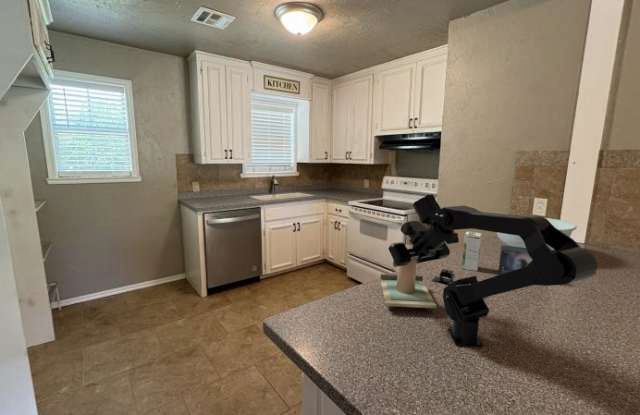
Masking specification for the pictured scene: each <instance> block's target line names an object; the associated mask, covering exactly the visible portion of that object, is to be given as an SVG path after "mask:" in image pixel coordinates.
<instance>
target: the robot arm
mask: <svg viewBox="0 0 640 415" xmlns="http://www.w3.org/2000/svg"><path fill="white" fill-rule="evenodd" d="M412 208H413V209H414V212H415V213H416V215H417V217H418V219H419V220H420V221H418V220H411V221H410V220H409V221H407V222H404V223H403V224H402V225H401V227H400V232H401V233H402V234H403V235H404V236H407V237H409V239H408V241H409V243H410V245H413V246H412V247H413V248H412V249H407V248H406V246H405V245H406V244H405V243H404V242H402V241H401V242H393V243H391V244H389V246H388V251H389V254H390V256H391V258H392V260H393V261H392V266H393V267H394V268H397V267H398V266H404V265H408V263H410V262H411V258H412V257H417V260H416V263H418V264H419V263H425V262H431V261H432V262H433V261H436V260H441V259H446V258H447V257H449V256H450V252H451V250H450V248H449V246H448V245H452V244H458V243H459V240H460V239H459V233H458V232H456V231H458V230H479V231H483V232H484V231H485V232H491V233H492V232H493V233H496V232H498V233H504V234H511V235H517V236H520V237H521V238H522V240H523V241H524V243H525V246H526V249H527V252H528V254H529V256H530V257H531V258H532V261H531V262H529V263H528V264H527V265H526V266H525V267H523V268H519V269H516V270H513V271H510V272H507V273H504V274H501V275H500V274H498V275H494V276H492V277H488V278H486V279H485V278H484V279H482V280H480V281H479V280H478V279H477V275H473V276H469V277H464V278H459V279H457V280H454V282H450V283H446V284H447V285H445V286H444V288H443V289H442V291H443V293H442V299H443V304H444V305H443V306H444V310H445V314H446V315H447V316H448V317H449V318H450V320H452V328H450V327H449V328H447V330H446V331H447V332H448V335H449V336H450V338H451V340H452V342H453V343H454V345H455V346H464V347H480V348H481V347H484V343H483V342H482V340H481V338H480V337H479V327H480V318H484V317H487V316H488V315H489V313H490V308H489V307H488V305H487V303H486V302H485V300H486V299H488V298H489V297H491V296H492V297H493V296H495V295H500V294H505V293H508V292H512V291H516V290H519V289H523V288H526V287H527V288H528V287H531V286H544V287H547V286H565V285H569V284H572V283H576V282H578V281H579V282H580V281H583V280H587V279H590V278H592V277H594V276H595V275H596V274H597V270H598V262H597V259H596V258H595V256H594V255H593V254H592V252H590V251H589V250H588V249H585V248H583V247H581V245H580V244H578V243H577V242H576V240H574V239H573V238H572V237H571V236H570V237H569V236H567V235H566V234H564V233H563V232H561V231H560V230H558V229H557V228H555V227H554V226H553V225H552V224H551V223H550V222H549V221H548V220H547V219H546V218H547V217H543V216H541V215H533V216H531V215H518V214H509V213H508V214H507V213H506V214H505V213H496V212H495V213H494V212H485V211H480V210H478V209H476V208H474V207H471V206H467V205H455V206H444V207H441V206H440V205H439V203H438V202H437V200H436V197H435V196H434V194H433V193H432V194H426V195H425V196H424V197H421V198H419V199H417V200H416V201H414V202H413V204H412ZM423 224H424V225H423ZM425 224H426V225H428V226H429V227H427V228H426V226H425ZM455 230H456V231H455ZM546 244H547V245H549V246H550V247H552V248H553V249H555V250H551V249H550V248H549V247H548V246H547V245H546Z"/></svg>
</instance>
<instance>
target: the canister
mask: <svg viewBox="0 0 640 415" xmlns="http://www.w3.org/2000/svg"><path fill="white" fill-rule="evenodd" d="M405 246H406V248H407V249H412V248H413V247H412V246H413V244H405ZM417 259H418V257H412V258H411V262H410V263H408V265H404V266H398V267H396V268H397V270H396V272H397V273H396V275H397V290H398V291H399V292H401V293H405V294H411V293H414V292H415V279H416V274H417Z"/></svg>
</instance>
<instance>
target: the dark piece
mask: <svg viewBox="0 0 640 415" xmlns="http://www.w3.org/2000/svg"><path fill="white" fill-rule="evenodd" d="M454 281H455V273H454V271H453V270H449V269H444V268H442V270H441V271H440V272H439V275H438V276H435V277H433V279H432V280H431V282H433V283H437V284H442V285H445V286H448V285H447V284H446V283H450V282H454Z"/></svg>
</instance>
